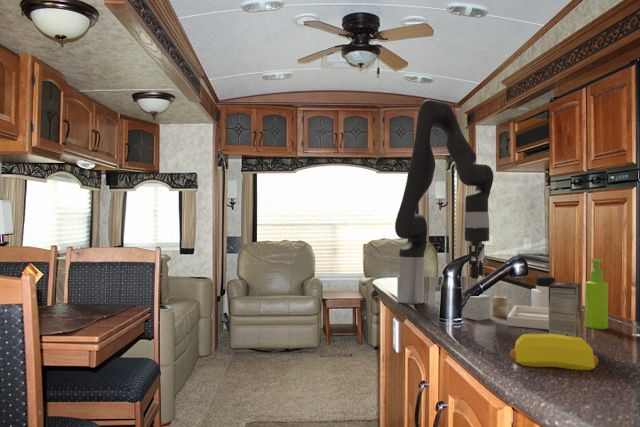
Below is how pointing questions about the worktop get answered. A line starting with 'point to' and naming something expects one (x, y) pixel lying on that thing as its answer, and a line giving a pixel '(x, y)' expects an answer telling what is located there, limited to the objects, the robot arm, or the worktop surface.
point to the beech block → (500, 306)
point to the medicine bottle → (541, 292)
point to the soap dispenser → (596, 298)
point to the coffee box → (565, 309)
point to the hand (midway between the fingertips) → (477, 277)
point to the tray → (529, 317)
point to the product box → (477, 308)
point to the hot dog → (554, 352)
